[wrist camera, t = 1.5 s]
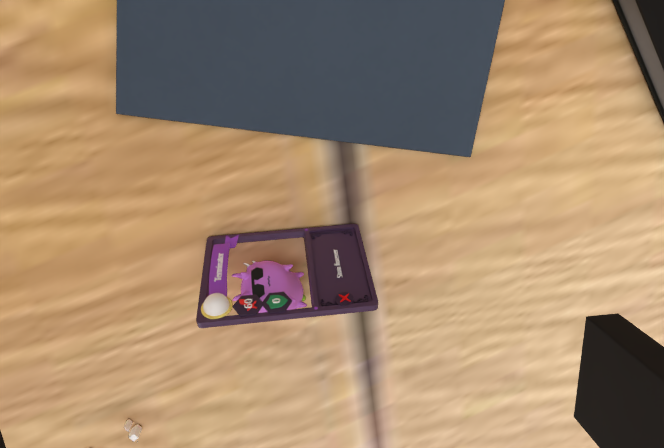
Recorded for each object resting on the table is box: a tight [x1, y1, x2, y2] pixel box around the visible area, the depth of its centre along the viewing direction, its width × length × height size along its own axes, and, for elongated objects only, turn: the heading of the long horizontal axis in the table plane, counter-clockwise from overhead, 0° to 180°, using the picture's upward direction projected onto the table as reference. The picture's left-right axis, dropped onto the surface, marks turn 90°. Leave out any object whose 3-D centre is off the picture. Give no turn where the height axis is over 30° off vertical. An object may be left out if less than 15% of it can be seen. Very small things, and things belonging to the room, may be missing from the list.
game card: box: [196, 224, 378, 328], centre depth 28 cm, size 7×5×9 cm
